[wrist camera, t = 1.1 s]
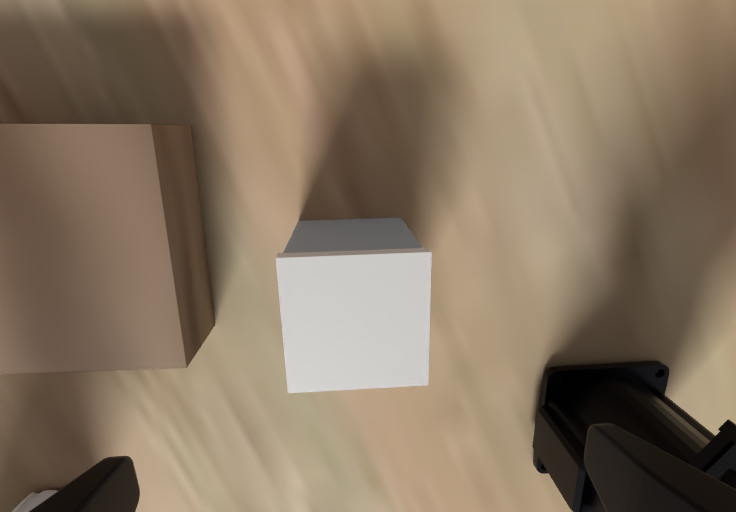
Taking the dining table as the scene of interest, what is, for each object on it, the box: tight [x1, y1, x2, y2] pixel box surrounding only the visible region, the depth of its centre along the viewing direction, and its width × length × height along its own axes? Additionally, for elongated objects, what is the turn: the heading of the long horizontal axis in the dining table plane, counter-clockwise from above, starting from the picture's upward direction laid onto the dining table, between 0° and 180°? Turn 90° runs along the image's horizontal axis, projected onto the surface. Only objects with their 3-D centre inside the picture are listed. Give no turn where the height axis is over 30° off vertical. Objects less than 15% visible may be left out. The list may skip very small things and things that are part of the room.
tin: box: [276, 217, 432, 393], centre depth 16 cm, size 5×5×6 cm
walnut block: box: [0, 124, 215, 374], centre depth 16 cm, size 9×9×4 cm
